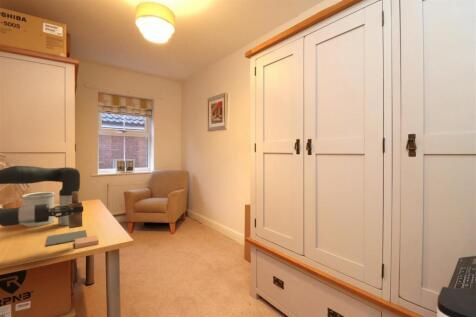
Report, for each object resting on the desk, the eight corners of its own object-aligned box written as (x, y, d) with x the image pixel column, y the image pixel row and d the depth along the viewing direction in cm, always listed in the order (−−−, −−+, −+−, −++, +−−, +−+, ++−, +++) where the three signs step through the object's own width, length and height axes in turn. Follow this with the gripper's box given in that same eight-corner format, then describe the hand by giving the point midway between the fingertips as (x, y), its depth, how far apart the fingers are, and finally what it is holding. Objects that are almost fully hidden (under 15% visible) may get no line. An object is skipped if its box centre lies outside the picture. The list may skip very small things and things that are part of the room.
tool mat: (45, 246, 108) (45, 245, 108) (47, 237, 119) (47, 236, 119) (87, 239, 117) (87, 237, 117) (85, 231, 128) (85, 230, 128)
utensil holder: (26, 228, 132) (25, 197, 131) (19, 223, 141) (19, 194, 140) (58, 222, 143) (58, 193, 143) (50, 218, 152) (50, 191, 152)
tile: (75, 244, 106) (98, 240, 111) (74, 239, 112) (96, 235, 118) (75, 249, 106) (98, 244, 111) (74, 243, 112) (96, 239, 118)
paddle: (69, 228, 107) (68, 193, 106) (68, 226, 109) (68, 192, 108) (82, 226, 109) (81, 191, 109) (82, 224, 112) (81, 190, 111)
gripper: (32, 208, 95) (83, 203, 105) (35, 202, 106) (82, 197, 116) (32, 227, 95) (84, 220, 105) (36, 219, 106) (82, 213, 117)
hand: (82, 208), depth 111 cm, fingers closed on paddle, 3 cm apart
